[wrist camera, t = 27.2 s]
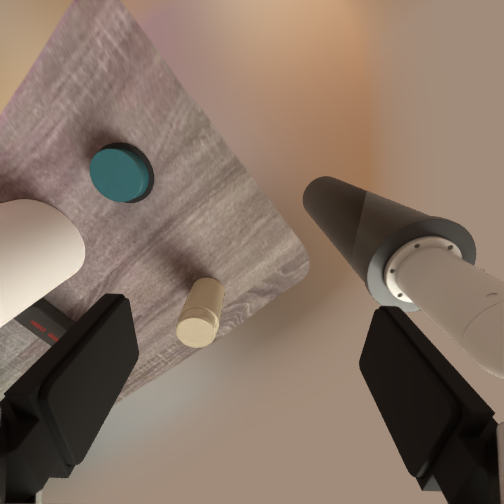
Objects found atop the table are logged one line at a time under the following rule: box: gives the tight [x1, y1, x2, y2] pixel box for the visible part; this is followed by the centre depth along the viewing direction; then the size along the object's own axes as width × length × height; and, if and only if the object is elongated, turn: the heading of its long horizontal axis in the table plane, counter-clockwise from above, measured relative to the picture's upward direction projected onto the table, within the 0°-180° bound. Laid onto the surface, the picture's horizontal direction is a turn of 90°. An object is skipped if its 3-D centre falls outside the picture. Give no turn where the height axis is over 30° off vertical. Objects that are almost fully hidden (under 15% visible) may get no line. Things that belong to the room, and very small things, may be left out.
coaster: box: [100, 143, 154, 203], centre depth 34 cm, size 8×8×1 cm
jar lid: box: [90, 149, 149, 202], centre depth 32 cm, size 7×7×2 cm
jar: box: [176, 278, 225, 348], centre depth 37 cm, size 6×6×10 cm
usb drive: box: [14, 299, 75, 346], centre depth 43 cm, size 5×12×3 cm, turn 36°
